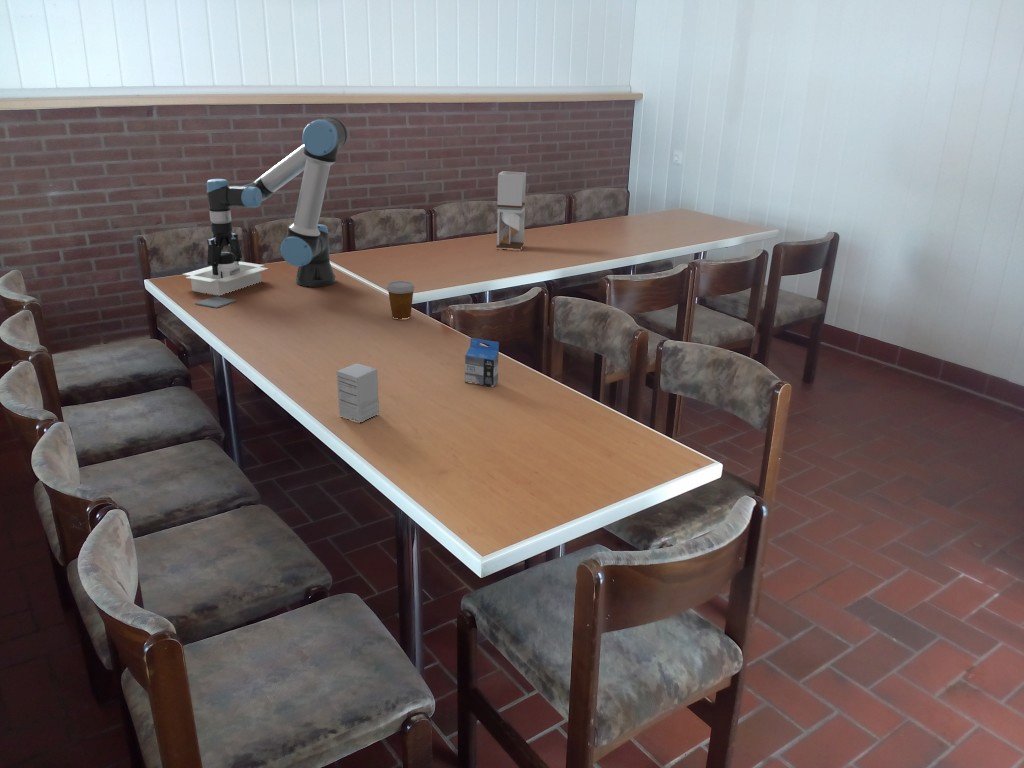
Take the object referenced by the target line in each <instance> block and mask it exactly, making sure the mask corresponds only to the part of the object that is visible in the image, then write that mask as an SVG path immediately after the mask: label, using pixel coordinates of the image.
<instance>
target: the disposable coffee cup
mask: <svg viewBox="0 0 1024 768" xmlns="http://www.w3.org/2000/svg"><path fill="white" fill-rule="evenodd" d="M386 290H387V292H388V298H389V304H390V311H391V317H394V318H398V319H402V318H408V317H410V316H412V315H411V314H412V307H413V299H414V298H413V297H414V291H415V286H414V283H413V282H411V281H406V280H396V281H395V280H394V281H390V282H389V283H388V284H387V286H386Z"/></svg>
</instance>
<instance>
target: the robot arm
mask: <svg viewBox="0 0 1024 768" xmlns="http://www.w3.org/2000/svg"><path fill="white" fill-rule="evenodd" d="M348 138H349V132H348V129H347V126H346V125H345V123H344V122H343V121H342V120H340V119H339V118H335V117H326V118H319V119H315V120H313V121H310V122H309V123H308V124H307V125H306V126H305V127H304V129H303V132H302V137H301V139H302V143H303V144H301V145H300V146H299V147H298V148H296V149H295V150H293V151H292V152H291V153H289V155H288V154H287V156H285V158H283V159H282V160H281V161H279V162H277V164H275V165H274V166H272V167H271V168H270V169H269V170H267V171H266V172H265V173H263V174H262V175H260V176H259V177H258V178H257V179H255V180H254V181H252V182H251V183H248V184H243V185H231V184H229V182H228V180H227V179H224V178H212V179H207V182H206V194H207V203H208V210H209V211H208V212H209V220H210V221H211V223H210V230H211V233H212V234H213V236H212V238H208V239H207V240H206V241H207V267H209V266H212V269H213V275H214V278H215V279H217V280H218V279H221V270H220V266H218V265H219V260H220V256H221V252H222V251H223V250H224V247H225V248H226V250H227V252H230V253H232V254H233V255H234V265H239V263H238V262H241V259H243V254H242V250H241V247H240V246H241V245H240V243H239V235H238V233H232V232H233V224H232V214H231V213H232V212H231V207H240V208H249V209H252V208H259V207H260V206H261V204H262V202H264V201H266V200H267V199H270V197H271V196H272V195H273V194H274V193H275V192H276V191H278V190H280V189H281V188H282V187H284V186H285V185H286V184H288V183H289V182H290V181H291V180H293V179H294V178H296V177H297V176H298V175H300V174H301V173H302V172H303V174H302V179H301V180H302V181H301V185H300V188H299V189H300V191H299V194H298V195H299V196H298V199H297V203H296V210H295V215H294V221H293V222H292V223H290V224H288V227H287V234H286V238H284V239H283V241H282V242H281V244H280V254H281V256H282V258H283V259H284V261H285V262H286V263H287V264H289V265H291V266H294V267H297V273H296V276H295V281H296V284H297V285H298V284H299V286H301V285H302V287H307V286H309V287H308V288H320V287H326V286H331V285H334V284H335V283H336V276H335V273H334V270H333V267H332V265H331V260H330V259H331V258H330V241H329V239H330V238H329V237H330V233H329V230H328V229H329V227H328V226H327V225H325V224H322V223H321V224H319V220H320V217H321V212H322V209H323V208H322V207H323V201H324V198H325V194H326V188H327V182H328V178H329V174H330V170H331V166H332V165H334V164H335V163H336V162H337V157H338V152H339V150H341V149H342V148H343V147H345V145H346V144H347V141H348Z"/></svg>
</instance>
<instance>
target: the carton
mask: <svg viewBox="0 0 1024 768" xmlns="http://www.w3.org/2000/svg"><path fill="white" fill-rule="evenodd" d="M238 263H239V266H240V273H237V274H234V275H231V276H228V277H224V278H221V279H218V280H217V279H213V277H212V266H207V267H203V268H200V269H196V270H193V271H189V272H185V273H182V276H186V277H185V279H187V280H189V279H190V283H191V284H190V285H191V291H192V292H195V293H201V294H206V293H207V295H212V294H213V295H214V296H217V295H218V296H217V297H221V296H223V294H224V295H226V294H225V293H227V294H229V292H230V293H233V292H236V291H238V289H239V290H241V288H242V289H245V288H247V286H248V287H251V286H254V285H257V284H259V282H260V283H262V282H263V281H262V272H263V271H267V270H269V267H268V268H267V267H265V265H264V264H258V263H252V262H245V261H238ZM256 283H257V284H256ZM253 284H254V285H253ZM250 285H251V286H250ZM244 287H245V288H244ZM235 290H236V291H235ZM232 291H233V292H232ZM213 295H212V296H213ZM220 295H221V296H220Z"/></svg>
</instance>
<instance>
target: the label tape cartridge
mask: <svg viewBox="0 0 1024 768" xmlns="http://www.w3.org/2000/svg"><path fill="white" fill-rule="evenodd" d="M484 344H485V345H484ZM486 345H489V346H486ZM499 347H500V343H499V341H494V340H493V341H492V340H488V339H487V340H486V339H481V338H474V337H470V346H469V347H468V349H467V351H466V353H465V356H464V357H465V358H464V382H465V381H467V382H472V383H477V384H481V385H480V386H483V385H486V386H485V387H489V386H491V387H490V388H494V387H495V386H497V385H498V383H499V353H500V351H499V349H500V348H499ZM477 384H476V385H477Z"/></svg>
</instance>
